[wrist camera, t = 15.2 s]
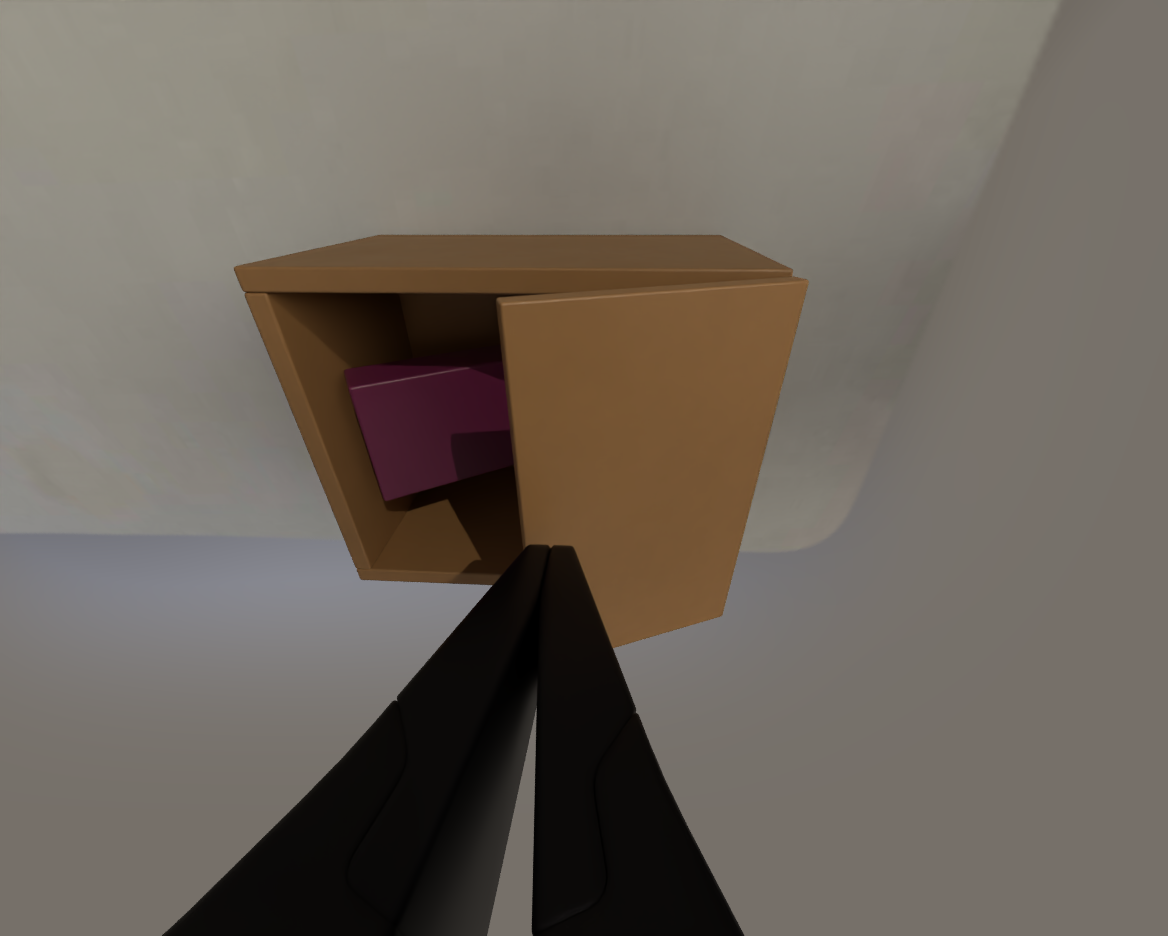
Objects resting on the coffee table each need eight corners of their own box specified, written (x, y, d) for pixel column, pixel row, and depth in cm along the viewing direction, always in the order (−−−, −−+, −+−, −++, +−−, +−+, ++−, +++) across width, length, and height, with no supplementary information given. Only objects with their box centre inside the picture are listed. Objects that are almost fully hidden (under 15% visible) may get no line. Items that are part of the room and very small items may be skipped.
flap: (794, 275, 8) (810, 280, 7) (715, 605, 13) (722, 616, 12) (494, 297, 6) (498, 303, 6) (534, 657, 11) (538, 671, 11)
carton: (721, 234, 14) (794, 269, 8) (686, 474, 18) (716, 595, 13) (378, 234, 14) (230, 266, 9) (432, 467, 19) (359, 580, 14)
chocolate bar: (342, 368, 12) (347, 387, 10) (600, 327, 15) (624, 338, 14) (377, 477, 14) (384, 503, 12) (598, 419, 17) (620, 436, 16)
